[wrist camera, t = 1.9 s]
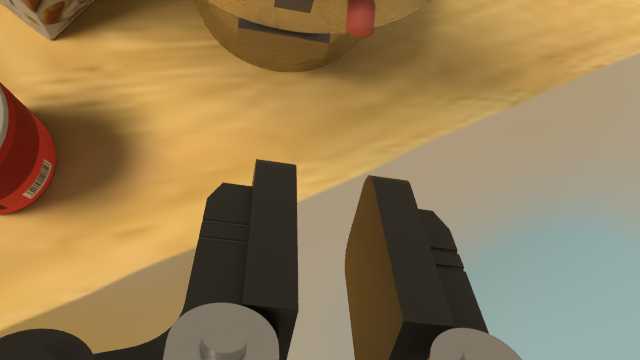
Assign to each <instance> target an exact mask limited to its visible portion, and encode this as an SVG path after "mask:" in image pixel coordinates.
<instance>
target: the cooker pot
mask: <svg viewBox="0 0 640 360" xmlns="http://www.w3.org/2000/svg"><path fill="white" fill-rule="evenodd" d="M196 2H197V6H198V9H199V12H200V15H201V17H202V19H203V21H204V23H205V25H206V26H207V28H208V29H209V31H210V32H211V33H212V35H213V36H214V37H215V38H216V39H217V40H218V42H219V43H220V44H221V45H222V46H224V47H225V48H226V49H227V50H228V51H229V52H231V53H232V54H234V55H235V56H237V57H238V58H240V59H242V60H244V61H246V62H248V63H250V64H252V65H255V66H258V67H261V68H264V69H268V70H273V71H281V72H299V71H306V70H311V69H315V68H318V67H321V66H323V65H326V64H328V63H330V62H332V61H334V60H335V59H337V58H339V57H340V56H341V55H343V54H344V53H345V52H346V51H348V50H349V49H350V47H351V46H352V45H353V44H354V43H355V42H356V41H357V39H358V38H359V37H355V36H352V35H350V34H348V33H347V32H345V33H303V32H295V31H288V30H282V29H277V28H273V27H268V26H265V25H261V24H258V23H254V22H251V21H249V20H246V19H243V18H240V17H238V16H235V15H233V14H231V13H229V12H227V11H224V10H222V9H220V8H219V7H217V6H215V5H213V4H211V3H210V2H208V1H206V0H196Z"/></svg>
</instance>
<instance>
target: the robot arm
mask: <svg viewBox="0 0 640 360" xmlns="http://www.w3.org/2000/svg"><path fill="white" fill-rule="evenodd" d="M297 249H298V248H297V176H296V165H293V164H286V163H279V162H272V161H265V160H258V159H256V163H255V169H254V176H253V182H252V186H244V185H237V184H229V183H222V184H221V185H220V186H219V187H218V188H217V189H216V190H215V191H214V192H213V193H212V194H211V195H210V196H209V197H208V198H207V202H206V207H205V211H204V216H203V222H202V225H201V230H200V234H199V240H198V244H197V248H196V253H195V258H194V263H193V267H192V271H191V276H190V281H189V285H188V290H187V295H186V300H185V304H184V307H183V310H182V313H181V314H180V316H179V318H178V320H177V321H176V322H175V323H174V324H173V326H171V327H170V328H169V329H168V330H167V331H166V332H164V333H163V334H162V335H160V336H159V337H157V338H155V339H153V340H151V341H149V342H147V343H144V344H141V345H138V346H135V347H130V348H125V349H120V350H114V351H109V352H102V353H97V354H92V351H91V350H90V349H89V347H88V346H87V345H86V344H85V343H84V342H83V341H81V340H80V339H79V338H77V337H76V336H74V335H72V334H69V333H66V332H64V331H59V330H54V329H31V330H25V331H20V332H16V333H13V334H9V335H6V336H4V337H2V338H0V360H286V359H287V355H288V351H289V347H290V343H291V338H292V334H293V330H294V326H295V322H296V318H297V314H298V250H297ZM345 256H346V257H345V277H346V286H347V294H348V302H349V312H350V320H351V329H352V336H353V346H354V355H355V360H522V359H521V358H520V357H519V356H518V355H517V353H516V352H515V351H513V350H512V349H511V348H510V347H509V346H508V345H506V344H505V343H504V342H502V341H501V340H499V339H497V338H496V337H494V336H492V335H490V334H489V333H488V330H487V327H486V325H485V322H484V319H483V317H482V314H481V311H480V309H479V306H478V303H477V301H476V298H475V295H474V293H473V290H472V287H471V285H470V282H469V280H468V277H467V274H466V272H464V271H463V269H464V266H463V264H462V261H461V258H460V256H459V254H457V248H456V245H455V242H454V240H453V237H452V234H451V232H450V230H449V228H448V227H447V226H446V225H445V224H444V223H443V222H442V221H441V220H440V219H439V218H438V216H436V214H435V213H434V212H433V211H429V210H422V209H418V208H417V204H416V201H415V198H414V195H413V191H412V189H411V185H410V183H409V182H408V181H406V180H399V179H392V178H384V177H378V176H368V177H367V178H366V180H365V182H364V185H363V189H362V192H361V196H360V200H359V203H358V206H357V210H356V214H355V217H354V221H353V224H352V228H351V231H350V235H349V238H348V243H347V248H346V255H345Z"/></svg>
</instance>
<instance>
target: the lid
mask: <svg viewBox="0 0 640 360" xmlns="http://www.w3.org/2000/svg"><path fill="white" fill-rule="evenodd" d="M206 1H208V2H210V3H211V4H213V5H215V6H217V7H219V8H220V9H222V10H224V11H227V12H229V13H231V14H233V15H235V16H238V17H240V18H243V19H246V20H249V21H251V22H254V23H258V24H261V25H265V26H268V27H273V28H277V29H282V30H288V31H295V32H303V33H345V32H347V33H348V34H350V35H352V36H355V37H366V36H369V35H371V34H372V33H373V31H374V27H379V26H382V25H385V24H388V23H391V22H394V21H397V20H399V19H401V18H403V17H405V16H408V15H410V14H412V13H413V12H415V11H417V10H418V9H420V8H422V7H423V6H425V5H426V4H427V3H429V2H430V1H431V0H206Z"/></svg>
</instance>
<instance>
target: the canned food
mask: <svg viewBox="0 0 640 360" xmlns="http://www.w3.org/2000/svg"><path fill="white" fill-rule="evenodd" d="M55 166H56V150H55V145H54V141H53V139H52V136H51V134H50V132H49V131H48V129H47V128H46V127H45V125H44V124H43V123H42V122H41V121H40V120H39V119H38V118H37V117H36V116H35V115H34V114H33V113H32V112H31V111H30V110H28V109H27V108H26V107H25V106H24V105H23V104H22V103H21V102H20V101H19V100H18V99H17V98H16V97H15V96H14V95H13V94H12V93H11V92H10V91H9V90H8V89H7V88H6V87H5V86H4V85H3V84H1V83H0V214H6V213H10V212H14V211H17V210H19V209H21V208H24V207H26V206H28V205H29V204H31V203H32V202H34V201H35V200H36V199H38V198H39V197H40V195H41V194H42V193H43V192H44V191H45V190H46V188H47V187H48V185H49V184H50V182H51V179H52V177H53V175H54V171H55Z"/></svg>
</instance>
